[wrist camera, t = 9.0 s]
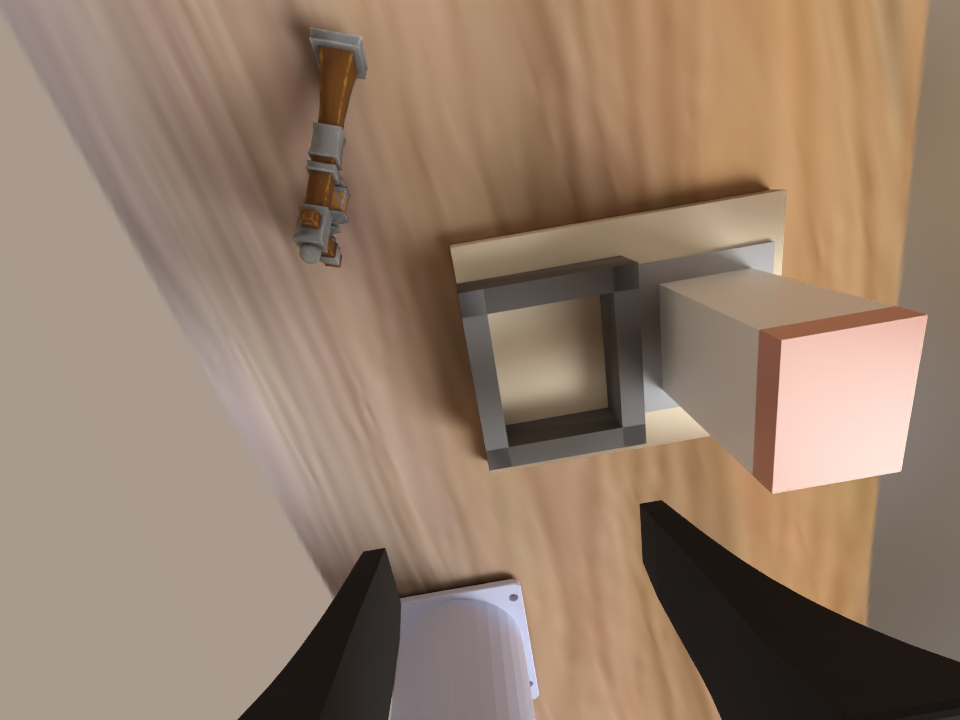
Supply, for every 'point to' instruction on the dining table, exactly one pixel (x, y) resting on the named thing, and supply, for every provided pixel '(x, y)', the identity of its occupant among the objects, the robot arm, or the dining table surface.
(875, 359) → the plug
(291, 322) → the dining table surface
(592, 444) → the board
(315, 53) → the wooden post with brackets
